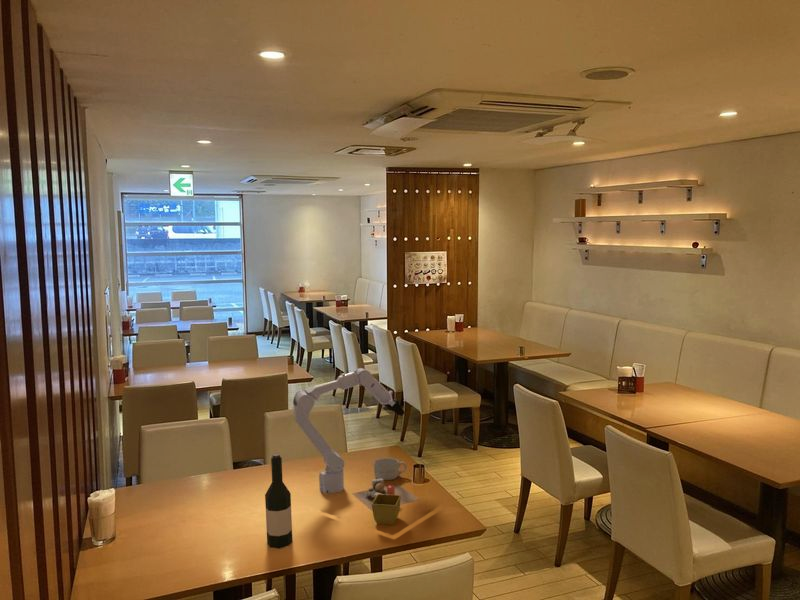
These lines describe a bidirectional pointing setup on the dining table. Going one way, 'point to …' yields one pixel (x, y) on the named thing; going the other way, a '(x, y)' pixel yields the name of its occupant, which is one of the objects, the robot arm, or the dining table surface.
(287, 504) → the wine bottle
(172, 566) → the dining table surface
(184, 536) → the dining table surface
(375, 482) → the anvil
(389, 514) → the flower pot
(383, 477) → the teacup
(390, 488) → the lever
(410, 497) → the bench board
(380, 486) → the walnut ball
